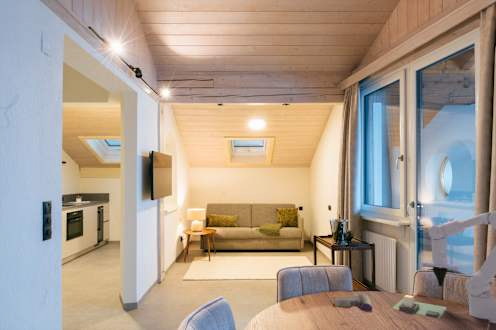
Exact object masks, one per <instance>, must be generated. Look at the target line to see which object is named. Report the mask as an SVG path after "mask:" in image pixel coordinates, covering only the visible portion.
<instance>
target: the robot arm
mask: <svg viewBox="0 0 496 330" xmlns="http://www.w3.org/2000/svg"><path fill="white" fill-rule="evenodd" d="M483 224H484V225H491V226H492V227H493V228H494V229H495V230H496V210H493V211H491V212H484V213H480V214H477V215H475V216H472V217H469V218H466V219H464V220H459V219H455V218H451V219H449V221H448V222H444V223H443V222H441V223H439V225H432V226H431V227H430V228H428V236H429V237H430V238H431V239H430V240H431V258H432V261H421V266H420V267H421V268H424V267H425V268H432V271H433V274H434V275H435V277H436V280H437V282H438V283H437V284H438V286H439V287H444V283H445V282H444V281H445V278H446V275H447V273H448V271H449V270H450V271H451V270H452V271H456V272H460V271H461V265H458V264H450V263H448V249H447V248H448V246H447V238H448V237H453V236H456V235H458V234H463V233H464V231H465V230H466V229H467V228H471V227H472V228H473V227H475V226H478V225H483ZM495 275H496V244H495V246H494V247H493V249H492V250H491V252H490V253H489V255H488V256H487V258H486V259H485V260H484V262H483V264H482V265H481V267H480V268H479V270H478V271H477V272H475V273H474V274H473V276H472V277H471V278H470V279H467V280H466V281H465V283H464V286H465V289H466V291H467V292H468V307H469V315H470V316H472V317H474V318H477V319H483V320H488V323H491V324H496V296H495V297H494V296H491V293H490V291H491V290H492V289H493V282H494V281H495Z"/></svg>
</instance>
